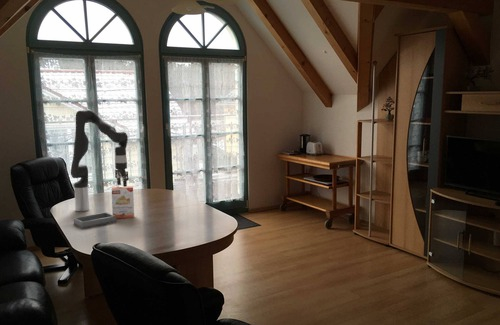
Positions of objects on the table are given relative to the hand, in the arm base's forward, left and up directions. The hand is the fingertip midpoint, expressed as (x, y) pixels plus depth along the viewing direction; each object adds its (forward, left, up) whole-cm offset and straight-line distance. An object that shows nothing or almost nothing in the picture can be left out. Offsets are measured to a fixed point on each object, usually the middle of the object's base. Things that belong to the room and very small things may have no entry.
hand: (122, 185), depth 280 cm
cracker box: (0, 0, -22) cm, 22 cm away
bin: (0, -20, -22) cm, 30 cm away
